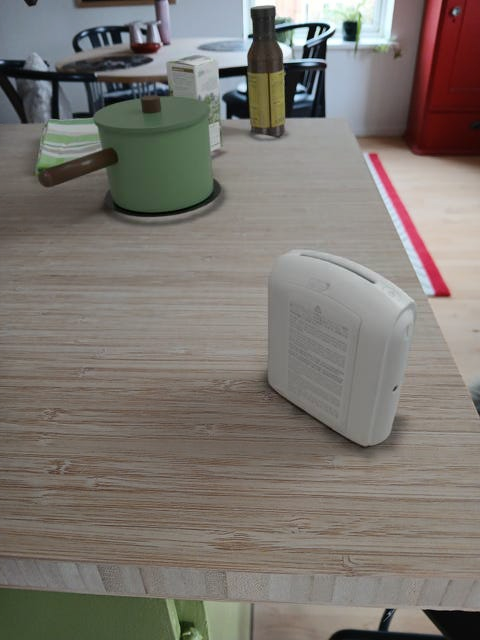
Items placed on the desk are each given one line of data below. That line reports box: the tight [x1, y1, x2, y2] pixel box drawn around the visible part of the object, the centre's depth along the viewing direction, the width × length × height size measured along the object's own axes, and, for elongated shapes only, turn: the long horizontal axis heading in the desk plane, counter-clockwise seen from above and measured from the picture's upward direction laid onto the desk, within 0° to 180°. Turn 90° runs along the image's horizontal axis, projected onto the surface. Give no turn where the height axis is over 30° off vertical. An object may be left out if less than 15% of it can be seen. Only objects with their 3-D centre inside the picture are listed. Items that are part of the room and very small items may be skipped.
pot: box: [37, 94, 214, 212], centre depth 65 cm, size 24×15×12 cm, turn 138°
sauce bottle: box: [246, 4, 286, 138], centre depth 87 cm, size 6×6×20 cm
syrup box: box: [165, 54, 223, 153], centre depth 81 cm, size 6×6×14 cm
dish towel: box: [34, 117, 102, 177], centre depth 88 cm, size 17×23×4 cm
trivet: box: [104, 177, 222, 218], centre depth 71 cm, size 16×16×1 cm
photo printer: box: [267, 249, 418, 447], centre depth 35 cm, size 10×4×12 cm, turn 45°
